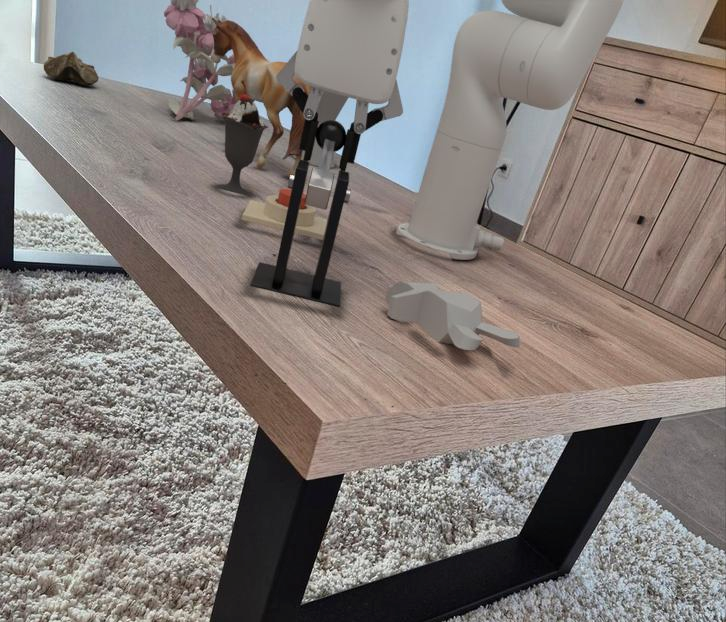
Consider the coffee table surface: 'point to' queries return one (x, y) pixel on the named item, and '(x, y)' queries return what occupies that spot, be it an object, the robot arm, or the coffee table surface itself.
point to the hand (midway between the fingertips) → (325, 162)
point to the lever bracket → (279, 275)
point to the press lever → (325, 163)
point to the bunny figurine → (444, 315)
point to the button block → (276, 217)
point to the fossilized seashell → (70, 69)
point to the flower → (199, 58)
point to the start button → (285, 198)
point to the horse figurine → (260, 84)
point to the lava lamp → (326, 111)
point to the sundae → (241, 139)
